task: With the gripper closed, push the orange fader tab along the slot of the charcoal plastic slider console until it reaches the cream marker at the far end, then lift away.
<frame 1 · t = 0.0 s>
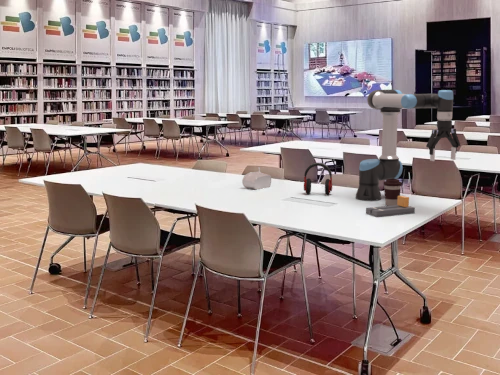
hand: (442, 160, 321), 28 cm above the table, tool pointing down, fingers open, 13 cm apart
slider console: (390, 213, 323), on the table
headphones: (317, 194, 381), on the table
coffee cup: (391, 205, 344), on the table
fader tab: (403, 202, 325), point 5 cm above the table, slide at 8.0 cm
vr headset: (257, 188, 407), on the table
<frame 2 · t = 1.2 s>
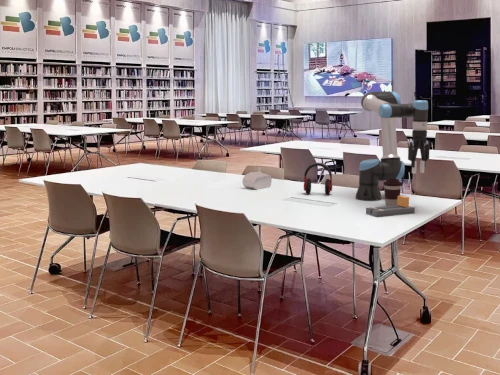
hand: (418, 172, 326), 21 cm above the table, tool pointing down, fingers open, 4 cm apart
nothing on the table moved.
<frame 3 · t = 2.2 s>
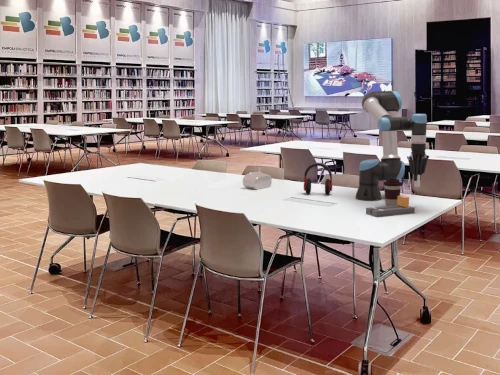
hand: (417, 186, 327), 13 cm above the table, tool pointing down, fingers closed
nothing on the table moved.
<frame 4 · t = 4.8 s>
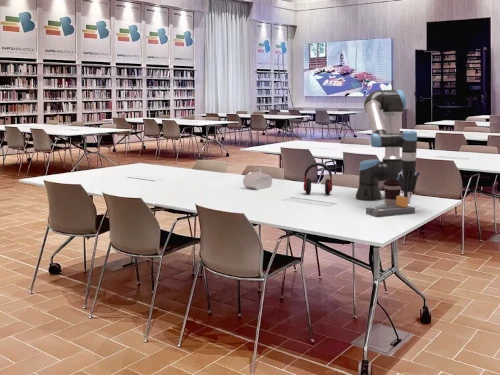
hand: (407, 203, 327), 4 cm above the table, tool pointing down, fingers closed
fader tab: (401, 203, 325), point 5 cm above the table, slide at 7.3 cm, touching gripper
everything else where it was.
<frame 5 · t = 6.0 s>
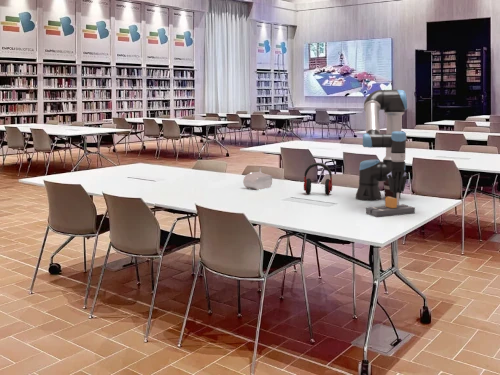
hand: (396, 204, 324), 4 cm above the table, tool pointing down, fingers closed
fader tab: (391, 204, 323), point 5 cm above the table, slide at 0.3 cm, touching gripper
everything else where it was.
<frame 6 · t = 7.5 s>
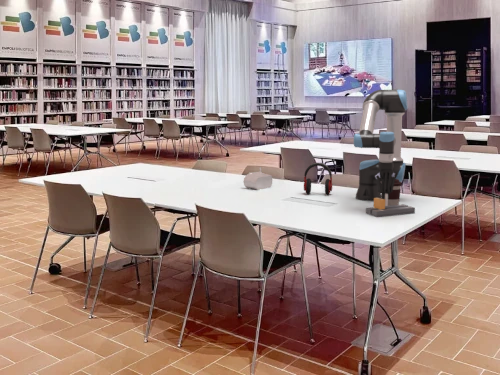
hand: (384, 205, 321), 4 cm above the table, tool pointing down, fingers closed
fader tab: (379, 205, 320), point 5 cm above the table, slide at -7.1 cm, touching gripper
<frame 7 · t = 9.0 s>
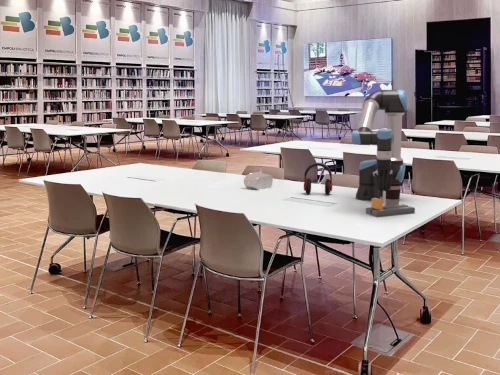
hand: (382, 202, 321), 6 cm above the table, tool pointing down, fingers closed
fader tab: (377, 205, 319), point 5 cm above the table, slide at -8.4 cm
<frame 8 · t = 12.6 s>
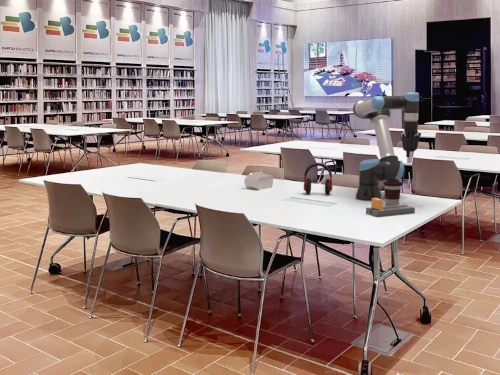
hand: (409, 162, 339), 24 cm above the table, tool pointing down, fingers closed
at the end: fader tab slide at -8.4 cm; coffee cup moved 0.2 cm from its start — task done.
